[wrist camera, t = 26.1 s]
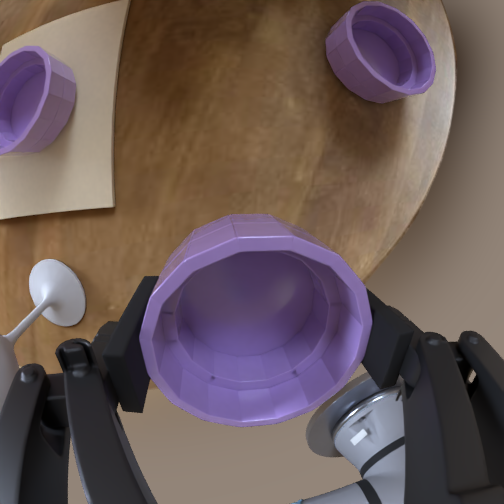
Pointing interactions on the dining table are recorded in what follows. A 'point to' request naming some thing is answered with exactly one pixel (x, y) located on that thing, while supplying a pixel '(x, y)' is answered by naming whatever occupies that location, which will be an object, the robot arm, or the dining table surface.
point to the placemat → (72, 119)
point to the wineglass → (43, 311)
